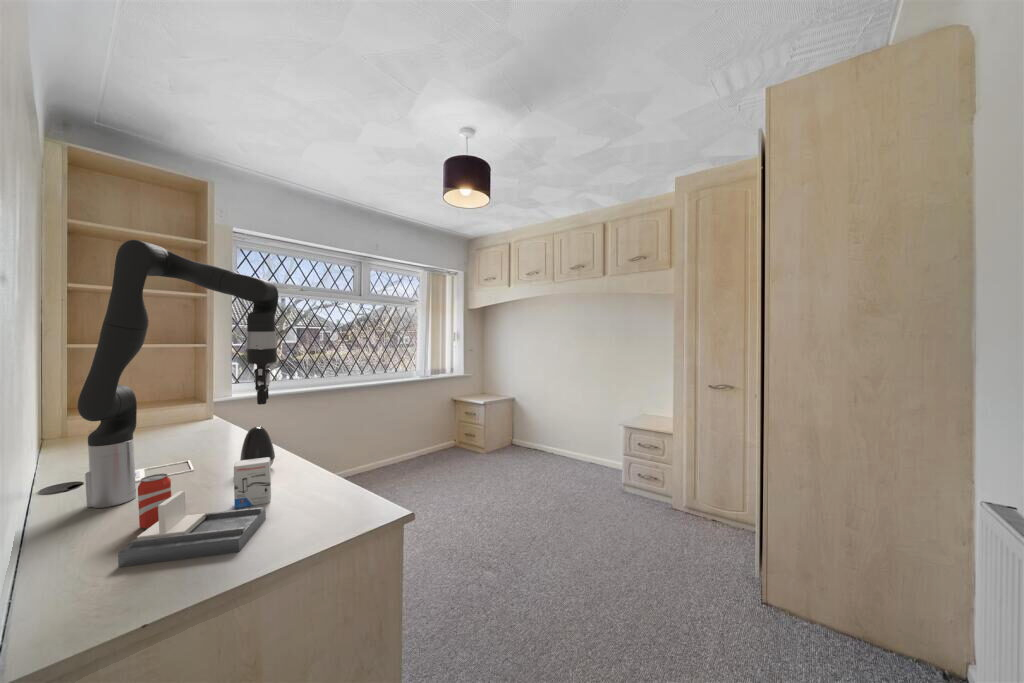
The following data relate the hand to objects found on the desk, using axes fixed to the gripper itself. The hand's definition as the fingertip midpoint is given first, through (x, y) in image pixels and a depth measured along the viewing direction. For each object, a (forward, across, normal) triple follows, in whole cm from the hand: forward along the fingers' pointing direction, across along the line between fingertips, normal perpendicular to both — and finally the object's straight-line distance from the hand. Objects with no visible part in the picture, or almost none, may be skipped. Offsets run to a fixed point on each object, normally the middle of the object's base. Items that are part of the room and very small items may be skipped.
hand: (263, 401), depth 121 cm
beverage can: (+28, +10, -23) cm, 37 cm away
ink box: (+27, +7, -2) cm, 28 cm away
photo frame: (+28, -40, -34) cm, 60 cm away
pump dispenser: (+28, -24, -4) cm, 37 cm away
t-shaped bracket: (+24, +24, -16) cm, 38 cm away
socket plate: (+27, +25, -11) cm, 39 cm away
